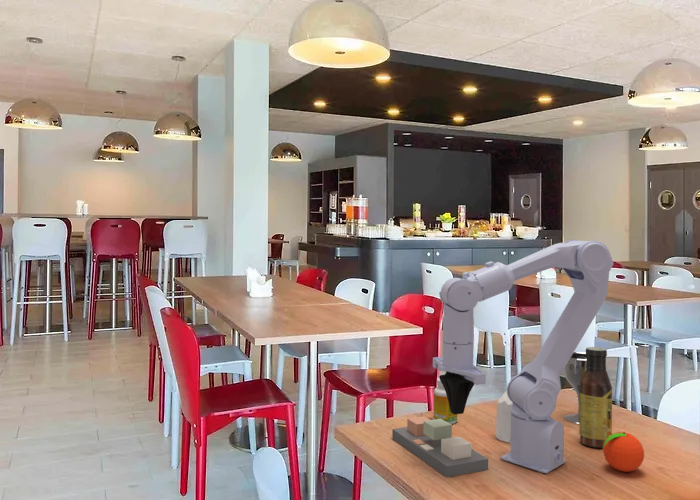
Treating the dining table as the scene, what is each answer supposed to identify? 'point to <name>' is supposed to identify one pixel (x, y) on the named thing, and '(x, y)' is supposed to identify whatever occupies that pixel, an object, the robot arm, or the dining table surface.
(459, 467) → the grey key panel base
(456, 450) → the cream key
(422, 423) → the terracotta key
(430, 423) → the sage key
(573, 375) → the wine glass
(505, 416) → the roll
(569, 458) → the dining table surface
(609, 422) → the sauce bottle
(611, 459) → the clementine
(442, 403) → the supplement bottle
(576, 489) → the dining table surface
